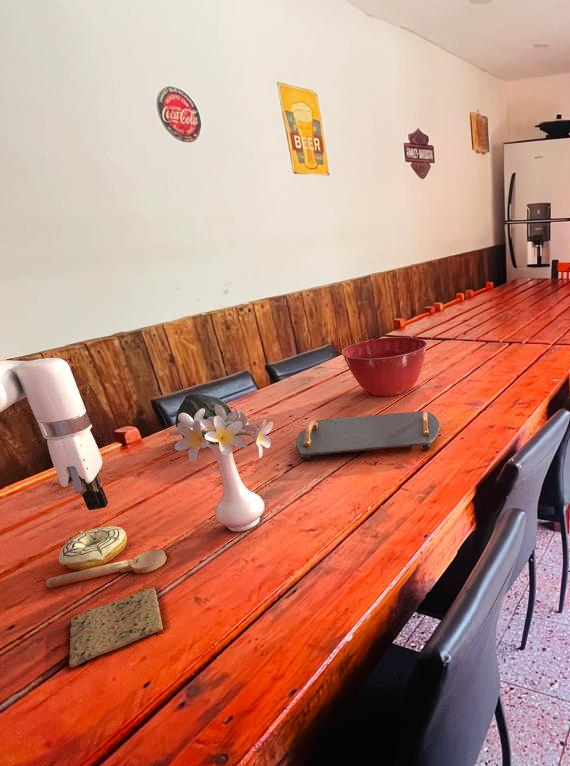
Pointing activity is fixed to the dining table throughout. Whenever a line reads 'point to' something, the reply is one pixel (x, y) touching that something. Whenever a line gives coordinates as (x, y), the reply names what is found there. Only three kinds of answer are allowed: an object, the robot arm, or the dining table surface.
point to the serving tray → (367, 433)
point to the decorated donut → (93, 548)
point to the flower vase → (226, 460)
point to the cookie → (113, 626)
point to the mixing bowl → (386, 364)
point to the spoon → (113, 568)
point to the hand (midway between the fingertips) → (98, 506)
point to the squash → (200, 407)
